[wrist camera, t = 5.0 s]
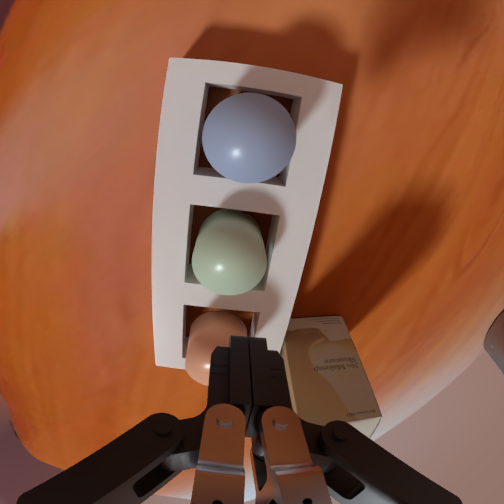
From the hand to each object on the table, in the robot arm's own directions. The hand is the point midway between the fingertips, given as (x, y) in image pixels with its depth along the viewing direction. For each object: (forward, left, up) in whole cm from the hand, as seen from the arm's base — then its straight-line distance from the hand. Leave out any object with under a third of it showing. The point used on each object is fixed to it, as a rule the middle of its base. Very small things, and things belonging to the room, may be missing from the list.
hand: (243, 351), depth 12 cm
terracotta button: (+1, +8, -10) cm, 13 cm away
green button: (+1, 0, -12) cm, 12 cm away
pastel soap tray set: (+1, 0, -13) cm, 13 cm away
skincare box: (-8, +9, -13) cm, 18 cm away
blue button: (+1, -8, -10) cm, 13 cm away
